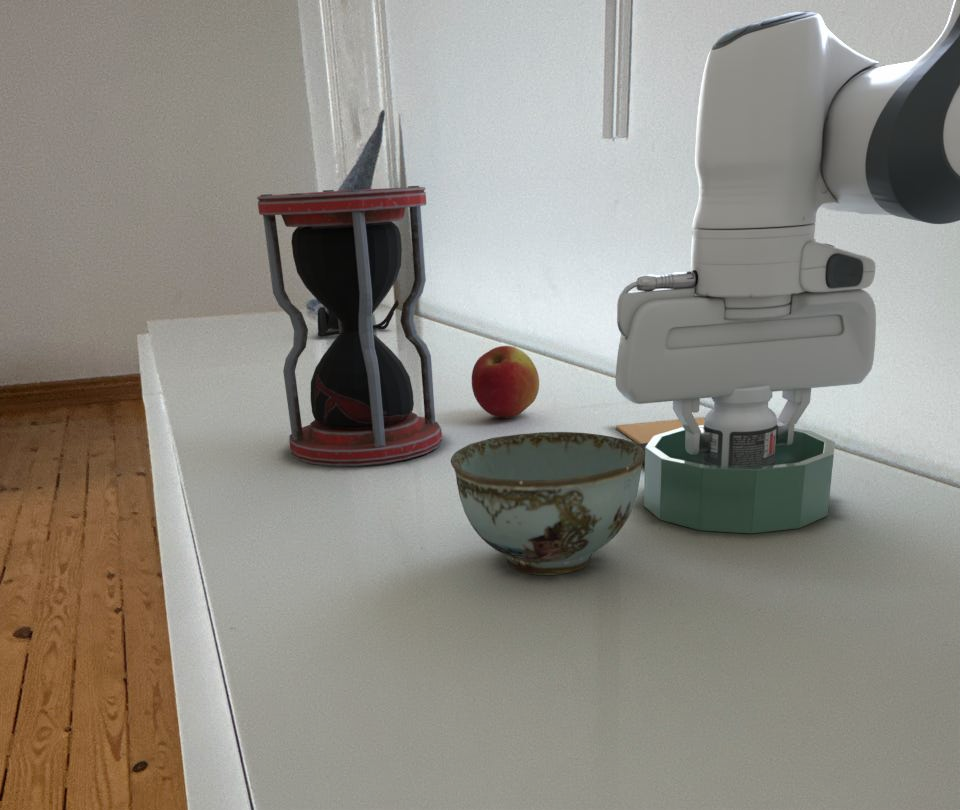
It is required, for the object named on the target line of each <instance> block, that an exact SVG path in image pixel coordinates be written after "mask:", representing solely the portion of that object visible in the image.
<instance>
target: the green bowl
mask: <svg viewBox="0 0 960 810" xmlns="http://www.w3.org/2000/svg"><path fill="white" fill-rule="evenodd" d="M699 428H704V425H700V426H699ZM685 434H686V430H685V429H684V428H683V427H682V428H678V429H675V430H672V431H668V432H665V433H661V434H658V435H655V436H653V438H652V439H651V440H650V442H649V443H648V444H647V446H646V447H645V454H646V455H645V463H644V477H643V478H644V482H643V483H644V484H643V485H644V486H643V506H644V508H646V509H647V510H648V511H649V512H650V513H652V514H653V515H654V516H655V517H656V518H657V519H658V520H660V521H662V522H663V521H664V522H667V523H671V524H674V525H678V526H682V527H686V528H690V529H693V530H697V531H702V532H703V531H704V532H716V533H717V532H718V533H719V532H720V533H733V534H734V533H737V534H750V535H751V534H752V535H753V534H761V533H769V532H778V531H786V530H796V529H801V528H803V527H805V526H808V525H810V524H812V523H815V522H816V521H819V520H821V519H824V518H827V517H828V515H829V514H828V513H829V504H830V494H831V485H832V477H833V476H832V475H833V466H834V456H835V447H836V442H835V441H834V440H832V439H829V438H828V437H825V436H823V435H822V434H820V433H819V434H818V433H816V432H814V431H812V430H807V429H801V428H795V427H794V436H793V443H792V444H791V445H785V446H775V460H774V465H770V466H761V467H737V466H713V465H703V464H702V460H703V454H697V455H691V454H689V453H688V452H686V449H685Z"/></svg>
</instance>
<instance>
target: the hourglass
mask: <svg viewBox="0 0 960 810" xmlns="http://www.w3.org/2000/svg"><path fill="white" fill-rule="evenodd" d="M425 190H426V187H425V186H420V185H409V186H407V187H389V188H387V187H386V188H385V187H384V188H369V189H368V188H367V189H366V188H365V189H349V190H334V189H325V190H322V191H315V192H299V193H282V194H281V193H280V194H273V193H268V194H266V193H265V194H260V195H259V196H257V197H256V199H257V200H258V201H257V207H258V208H257V209H258V214H259V215H260V216H262V219H263V224H264V225H263V226H264V233H265V241H266V250H267V257H268V265H269V272H270V280H271V288H272V294H273V297H274V298H275V300H276V302H277V304H278V306H279V307H280V308H281V309H282V310H283V311H284V312H285V313H286V314H287V315H288V317H289V319H290V323H291V326H292V329H293V343H292V347H291V349H290V351H289V352H288V354H287V355H286V358H285V361H284V366H283V368H282V369H283V370H282V373H283V380H284V386H285V395H286V402H287V410H288V417H289V425H290V431H291V433H290V435H289V437H288V438H289V449H290V450H289V451H290V455H291V456H292V457H294V458H296V459H297V460H298V461H301V462H303V463H305V462H306V463H308V464H313V465H322V466H330V467H359V466H369V465H370V466H371V465H387V464H388V463H395V462H399V461H406V460H410V459H413V458H416V457H420V456H424V455H426V454H428V453H430V452H432V451H434V450H436V449H438V447H439V446H441V443H442V442H443V439H442V438H443V433H442V427H441V425H440V423H439V422H438V421H437V420H436V410H435V396H434V380H433V379H434V378H433V365H432V355H431V352H430V350H429V347H428V344H427V343H426V342H425V341H424V340H423V338H421V337H420V335H419V334H418V332H417V331H418V330H417V328H416V324H415V323H416V322H415V310H416V304H417V302H418V301H419V300H420V298H421V296H422V294H423V293H424V289H425V285H426V280H427V277H426V265H425V264H426V263H425V248H424V235H423V234H424V233H423V222H422V221H423V220H422V208H421V207H423V206H426V205H427V193H426V191H425ZM406 208H409V221H410V235H411V248H412V262H413V263H412V264H413V275H414V276H413V277H414V280H413V284H412V287H411V290H410V293H409V295H408V296H407V297H406V299H405V300H404V302H403V303H402V307H401V308H402V309H401V315H400V320H399V322H400V325H401V327H402V330H403V333H404V336H405V338H406V339H407V340H408V341H409V342H410V343H411V344H412V345H413V346H414V348H415V350H416V352H417V353H418V354H417V355H418V356H419V358H420V359H419V360H420V370H421V371H420V372H421V384H422V385H421V387H422V398H423V411H424V416H418V414H417V413H415V412H413V411H414V405H415V403H414V390H413V386H412V381H411V377H410V374H409V373H408V371H407V369H406V367H405V365H404V363H403V361H402V360H400V358H399V357H398V355H396V354H395V353H394V351H393V350H392V349H391V348H389V346H387V344H386V343H385V342H383V341H382V340H381V339H380V337H378V336H377V335H376V334H375V333H374V329H373V325H374V324H373V314H374V313H375V311H376V310H377V309H378V307H379V306H380V305H381V303H383V301H384V300H385V298H386V297H387V296H388V294H389V292H390V291H391V289H392V288H393V286H394V284H395V283H396V281H397V278H398V275H399V273H400V270H401V267H402V257H403V256H402V252H403V247H402V235H401V231H400V228H399V227H398V226H397V225H396V224H395V222H396V221H397V222H398V221H402V220H403V219H404V218H405V217H404V216H405V213H406ZM276 216H281V218H282V220H283V223H284V225H285V227H286V228H289V227H290V228H295V229H294V230H293V232H292V235H291V251H292V258H293V262H294V265H295V270H296V274H297V275H298V277H299V278H300V280H301V282H302V283H303V285H304V286H305V288H306V290H308V292H309V293H310V294H311V295H312V296H313V297H314V298H315V299H316V300H317V301H318V302H319V303H320V304H321V305H322V307H324V308H325V309H326V310H327V311H328V312H329V311H330V312H331V313H332V314H333V315H334V316H335V317H337V318H338V324H339V329H338V330H339V333H340V334H337V336H336V338H335V339H334V340H333V342H332V343H331V344H330V346H329V347H328V348H327V350H326V351H325V352H324V354H322V357H321V358H320V360H319V362H318V363H317V365H316V366H315V368H314V371H313V374H312V376H311V380H310V407H311V414H312V417H313V421H311V422H310V423H309V424H308V425H305V426H302V418H301V409H300V400H299V392H298V385H297V376H296V369H297V364H298V361H299V358H300V356H301V355H302V353H303V352H304V351H305V349H306V348H307V343H308V335H309V329H308V326H307V323H306V320H305V317H304V314H303V313H302V311H301V310H299V308H297V307H296V306H295V305H294V303H292V301H291V299H290V297H289V296H288V294H287V292H286V290H285V281H284V273H283V266H282V259H281V250H280V242H279V235H278V227H277V219H276Z"/></svg>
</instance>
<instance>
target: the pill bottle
mask: <svg viewBox="0 0 960 810" xmlns="http://www.w3.org/2000/svg"><path fill="white" fill-rule="evenodd" d="M710 398H711V399H712V402H714V403H713V404H714V405H713V408H711V409H710V410H709V411H707V413H706V415H705V417H704V418H705V419H704V429H706V430H707V431H709V432H711V441H710V443H709V445H710V446H711V447H710V452H709V453H704V454H703V460H702V464H703V465H713V466H737V467H761V466H770V465H774V460H775V444H776V430H777V419H778V417H777V415H776V412H774V410H772V409H771V408H770V407H769V403H770V401H771V400H772V398H773V392H771V391H770V387H769V386H759V387H750V388H739V389H735V390H734V392H733V394H732V395H730V396H721V397H710Z"/></svg>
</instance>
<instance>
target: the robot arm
mask: <svg viewBox="0 0 960 810" xmlns="http://www.w3.org/2000/svg"><path fill="white" fill-rule="evenodd" d="M950 10H951V11H950V13H949V16H948V18H947V19H948V20H947V23H946V25H945V26H944V28H943V30H942V33H941V34H939V37H938V38H937V39H936V40H935V42H934V43H933V44H932V45H931V46H930V47H929V48H928V49H927V50H926V51H925V52H924V53H923V54H922V55H921V56H919V57H918V58H916V59H914V60H913V61H912V60H911V61H907V62H901V63H896V64H881V65H880V62H879V61H878V60H877V61H876V60H874V59H871V58H869V57H867V56H865V55H863V54H861V53H860V52H858V51H855V50H854V49H853V48H851V47H849V46H848V45H846V44H845V43H844V42H842V40H840V39H839V38H838V37H837V36H836V35H835V34H834V33H832V31H830V30H829V29H828V27H827V26H826V25H825V22H824V19H823V18H822V16H821V15H820V14H819V13H818V12H813V11H809V10H801V11H800V10H799V11H794V12H789V13H785V14H782V15H778V16H777V15H776V16H774V17H770V18H766V19H763V20H760V21H756V22H752V23H748V24H746V25H743V26H739V27H736V28H732V29H730V30H728V31H726V32H725V33H724V34H722V35H721V36H719V38H718V39H717V41H715V42H714V43H713V44H712V46H711V48H710V50H709V52H708V55H707V58H706V61H705V64H704V69H703V74H702V78H701V83H700V92H699V99H698V108H697V118H696V131H695V134H696V135H695V149H694V150H695V151H694V168H695V172H696V175H697V180H698V199H697V200H698V201H697V205H696V209H695V212H694V215H693V219H692V230H691V251H690V254H691V255H690V271H677V272H671V273H665V274H660V275H659V274H657V275H656V274H643V275H640V276H636V279H635V281H633V282H630V283H629V284H627V285H626V286H625V287H624V288H623V289H622V290H621V292H620V293H619V295H618V299H617V304H616V310H617V311H616V318H617V319H616V324H617V328H618V331H619V333H620V335H619V342H618V349H617V355H616V356H617V357H616V365H615V366H616V367H615V386H616V387H615V388H616V389H617V390H618V392H619V393H620V394H621V395H622V397H624V399H626V400H627V401H629V402H631V403H633V404H638V405H644V404H656V403H665V402H672V410H673V412H674V414H675V415H676V417H677V420H679V421H680V422H681V424H682V426H683V428H684V429H685V430H686V434H685V449H686V452H688V453H689V454H691V455H697V454H704V453H709V452H710V447H711V446H710V445H709V443H710V441H711V432H709V431H707V430H706V429H704V428H699V426H698V424H697V422H696V420H695V418H696V417H695V416H694V414H695V413H699V411H700V403H701V402H700V401H701V399H708V398H709V399H710V398H711V397H721V396H730V395H732V394H733V392H734V390H735V389H739V388H750V387H759V386H769V387H770V391H771V392H772V393H774V392H782V393H781V398H783V399H784V400H787V401H786V402H785V403H784V404H785V405H784V406H783V408H782V410H781V412H780V413H779V415H778V417H777V430H776V444H775V446H785V445H791V444H792V443H793V436H794V428H795V425H797V424H798V422H799V420H800V419H801V417H802V416H803V414H804V412H805V411H806V409H807V408H808V406H809V404H810V403H811V397H812V396H811V395H812V389H818V388H827V387H828V388H829V387H839V386H850V385H851V386H852V385H860V384H861V383H863V382H864V381H865V379H866V378H867V376H868V375H869V373H870V372H871V371H872V369H873V365H874V359H875V349H876V338H877V336H876V333H877V312H876V311H877V309H876V304H875V301H874V299H873V296H872V295H871V294H870V293H869V292H867V291H866V290H864V289H867V288H869V287H871V285H872V284H873V283H874V280H875V275H876V262H875V260H874V259H872V258H871V257H869V256H866V255H862V254H859V253H856V252H852V251H849V250H845V249H843V248H839V247H835V245H833V244H829V243H826V242H825V243H824V242H819V241H816V238H815V235H816V234H815V232H816V222H817V213H818V210H819V209H820V207H821V208H823V209H825V210H829V211H834V212H845V213H856V214H861V215H879V216H895V217H897V218H902V219H906V220H912V221H917V222H922V223H926V224H931V225H947V224H952V223H955V222H959V221H960V0H953V4H952V6H951V9H950ZM633 289H636V291H632V290H633Z"/></svg>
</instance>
